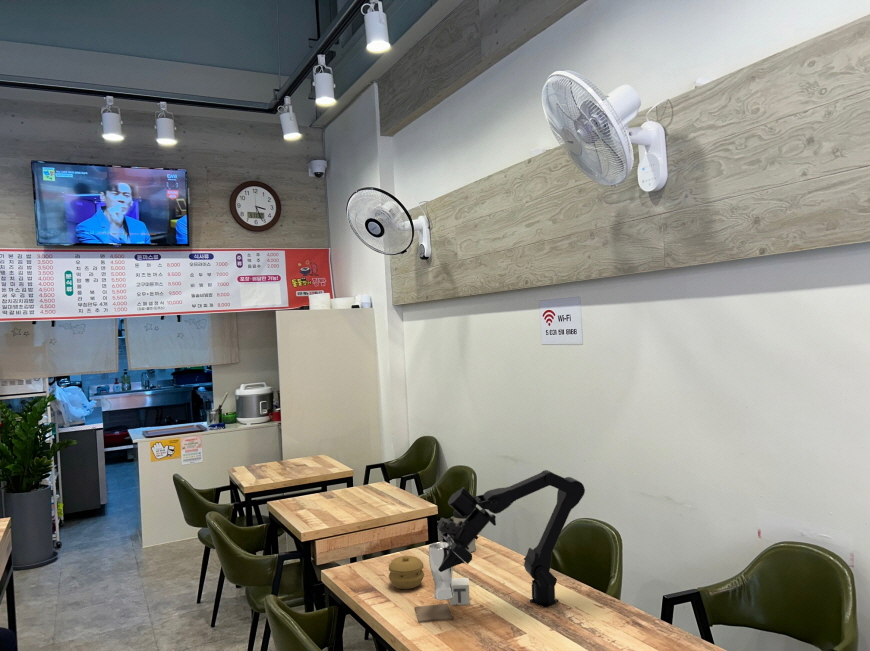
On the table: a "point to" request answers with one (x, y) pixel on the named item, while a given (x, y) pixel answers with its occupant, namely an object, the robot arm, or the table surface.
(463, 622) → the table surface
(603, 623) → the table surface
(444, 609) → the coaster
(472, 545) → the travel mug
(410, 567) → the pot
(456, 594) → the letter block
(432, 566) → the beer glass
